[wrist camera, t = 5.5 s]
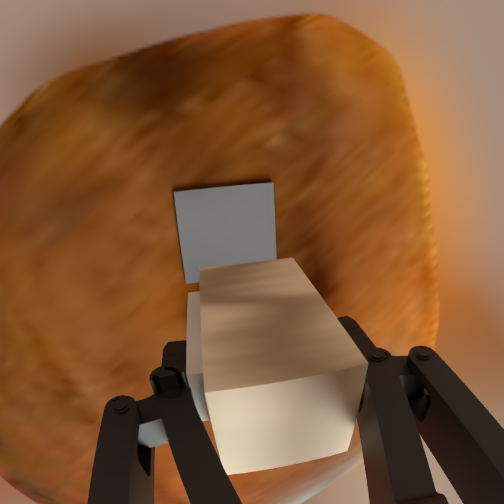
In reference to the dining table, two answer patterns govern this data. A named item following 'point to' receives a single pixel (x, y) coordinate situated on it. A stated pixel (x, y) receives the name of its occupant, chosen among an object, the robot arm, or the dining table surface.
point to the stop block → (275, 367)
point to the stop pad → (225, 226)
